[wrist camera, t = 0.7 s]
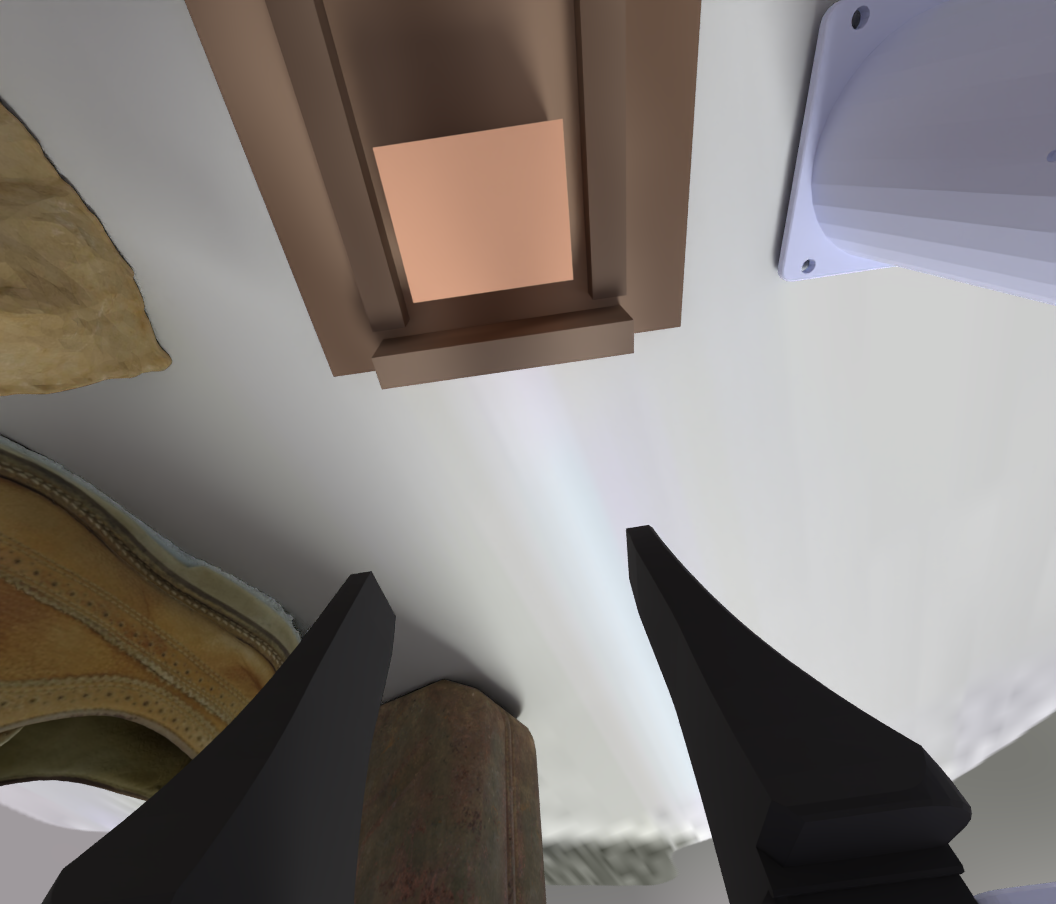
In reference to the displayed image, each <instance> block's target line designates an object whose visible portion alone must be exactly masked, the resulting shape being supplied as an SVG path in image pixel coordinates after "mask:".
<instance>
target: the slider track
mask: <svg viewBox="0 0 1056 904" xmlns="http://www.w3.org/2000/svg"><path fill="white" fill-rule="evenodd" d="M185 3H186V5H187V8H188V10H189V13H190V16H191V18H192V21H193V23H194V26H195V28H196V31H197V33H198V36H199V38H200V41H201V43H202V46H203V48H204V51H205V53H206V56H207V58H208V61H209V63H210V66H211V68H212V71H213V74H214V76H215V79H216V81H217V84H218V86H219V89H220V91H221V94H222V96H223V99H224V101H225V104H226V106H227V109H228V111H229V114H230V116H231V119H232V121H233V124H234V127H235V129H236V132H237V134H238V137H239V139H240V142H241V144H242V147H243V149H244V152H245V154H246V157H247V159H248V162H249V164H250V167H251V169H252V172H253V174H254V177H255V180H256V182H257V185H258V187H259V190H260V192H261V195H262V197H263V200H264V202H265V205H266V207H267V210H268V212H269V215H270V217H271V220H272V222H273V225H274V227H275V230H276V232H277V235H278V238H279V240H280V243H281V245H282V248H283V250H284V253H285V255H286V258H287V260H288V263H289V265H290V268H291V270H292V273H293V275H294V278H295V280H296V283H297V285H298V288H299V291H300V293H301V296H302V298H303V301H304V303H305V306H306V308H307V311H308V313H309V316H310V318H311V321H312V323H313V326H314V328H315V331H316V333H317V336H318V338H319V341H320V343H321V346H322V349H323V351H324V354H325V356H326V359H327V361H328V364H329V366H330V369H331V371H332V374H333V376H334V377H336V376H343V375H349V374H356V373H363V372H370V371H376V373H377V376H378V379H379V382H380V385H381V388H382V389H388V388H395V387H402V386H409V385H416V384H423V383H430V382H436V381H443V380H450V379H457V378H464V377H471V376H478V375H485V374H492V373H499V372H506V371H513V370H520V369H527V368H534V367H541V366H548V365H555V364H561V363H568V362H575V361H582V360H589V359H596V358H603V357H610V356H617V355H624V354H631V353H634V333H640V332H647V331H653V330H660V329H667V328H674V327H680V326H681V310H682V294H683V279H684V263H685V248H686V232H687V216H688V201H689V185H690V169H691V154H692V138H693V123H694V107H695V91H696V76H697V60H698V44H699V29H700V13H701V0H185ZM558 119H563V131H564V146H565V161H566V176H567V191H568V206H569V221H570V236H571V251H572V266H573V280H567V281H560V282H553V283H547V284H540V285H533V286H526V287H519V288H512V289H506V290H499V291H492V292H485V293H478V294H472V295H465V296H458V297H451V298H444V299H438V300H431V301H424V302H417V303H413V299H412V295H411V292H410V288H409V284H408V280H407V276H406V273H405V269H404V265H403V261H402V257H401V254H400V250H399V246H398V242H397V238H396V235H395V231H394V227H393V223H392V219H391V216H390V212H389V208H388V204H387V200H386V197H385V193H384V189H383V185H382V182H381V178H380V174H379V170H378V166H377V163H376V159H375V155H374V151H373V148H374V147H381V146H387V145H394V144H400V143H407V142H413V141H420V140H426V139H433V138H440V137H446V136H453V135H459V134H466V133H472V132H479V131H485V130H492V129H499V128H505V127H512V126H518V125H525V124H531V123H538V122H544V121H551V120H558Z"/></svg>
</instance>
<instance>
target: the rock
mask: <svg viewBox="0 0 1056 904" xmlns="http://www.w3.org/2000/svg"><path fill="white" fill-rule="evenodd" d="M133 277H134V272H133V270H132V269H131V268H130V266H129V265H128V264H127V263H126V262H125V261H124V259H123V258H122V257H121V256H120V254H119V253H118V251H117V250H116V248H115V247H114V245H113V243H112V242H111V240H110V239H109V237H108V236H107V234H106V233H105V231H104V228H103V227H102V225H101V223H100V222H99V220H98V219H97V218H96V216H95V215H94V214H92V213H91V212H90V211H89V210H88V209H87V207H86V206H85V204H84V203H83V202H82V200H81V199H80V197H79V195H78V194H77V193H76V192H75V191H74V189H73V188H72V187H71V186H70V185H69V184H68V183H66V182H65V181H64V180H63V179H61V177H60V176H59V174H58V173H57V172H56V170H55V169H54V167H53V166H52V165H51V163H50V162H49V161H48V160H47V159H46V157H45V156H44V154H43V152H42V149H41V147H40V145H39V143H38V142H37V141H36V140H35V139H34V138H33V137H32V135H31V134H30V133H29V132H28V131H27V129H26V128H25V127H24V126H23V124H22V123H21V122H20V121H19V120H18V119H17V118H16V117H15V116H14V115H13V114H12V113H10V112H9V111H8V110H7V109H6V108H5V107H4V106H3V105H2V104H1V102H0V396H8V395H14V394H50V393H56V392H62V391H66V390H70V389H75V388H79V387H83V386H87V385H91V384H94V383H97V382H100V381H103V380H107V379H114V378H132V377H136V376H138V375H140V374H141V373H146V372H152V371H163V370H165V369H167V368H168V367H169V366H170V364H171V363H172V360H171V358H170V356H169V355H168V354H167V353H166V352H165V351H163V350H162V349H161V347H160V346H159V345H158V343H157V341H156V338H155V335H154V332H153V329H152V327H151V324H150V321H149V319H148V317H147V316H146V314H145V311H144V307H145V306H144V302H143V298H142V296H141V294H140V292H139V289H138V287H137V285H136V283H135V281H134V279H133Z"/></svg>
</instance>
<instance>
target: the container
mask: <svg viewBox="0 0 1056 904" xmlns="http://www.w3.org/2000/svg"><path fill="white" fill-rule="evenodd" d="M354 904H546V893H545V877H544V862H543V847H542V833H541V818H540V803H539V788H538V773H537V758H536V749H535V744H534V740H533V737H532V735H531V733H530V731H529V730H528V728H527V727H526V726H525V725H523V724H522V723H521V722H519V721H518V720H517V719H516V718H514V717H513V716H512V715H511V714H509V713H508V712H507V711H505V710H504V709H503V708H502V707H500V706H499V705H498V704H496V703H495V702H493V701H492V700H491V699H490V698H489V697H487V696H486V695H485V694H483V693H482V692H481V691H479V690H478V689H477V688H473V687H470V686H466V685H463V684H459V683H455V682H452V681H448V680H445V679H442V680H440V681H438V682H435V683H433V684H431V685H428V686H426V687H423V688H421V689H419V690H416V691H414V692H412V693H409V694H407V695H404V696H402V697H400V698H397V699H395V700H393V701H390V702H388V703H386V704H383V705H381V706H380V709H379V713H378V718H377V722H376V726H375V731H374V735H373V740H372V745H371V750H370V756H369V763H368V770H367V778H366V785H365V793H364V801H363V810H362V819H361V828H360V837H359V847H358V859H357V871H356V882H355V895H354Z"/></svg>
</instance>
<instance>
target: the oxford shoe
mask: <svg viewBox="0 0 1056 904" xmlns="http://www.w3.org/2000/svg"><path fill="white" fill-rule="evenodd" d="M293 619H294V618H293V617H292V616H291V615H289V614H286V612H284V610H283V608H282V606H281V604H279V603H277V602H276V600H275V599H273V598H271V597H269V596H267V595H266V594H265V593H263V592H260V590H258V589H257V588H256V587H255V588H253V587H252V586H249V585H248V584H246V583H245V582H243V581H241V580H239V579H238V578H236V577H234V576H233V575H232V574H228V573H226V572H223V571H222V570H221V569H220V568H217V567H215V566H213V565H210V564H208V563H206V562H205V561H203V560H199V559H196V558H195V557H193V556H191V555H189V554H187V553H185V552H184V551H182V550H180V548H179V547H177V546H175V545H174V544H173V543H172V542H171V541H170V540H168V539H165V538H164V537H162V536H161V535H160V534H159V533H157V532H156V531H153V530H152V529H151V528H150V527H148V526H147V525H146V524H145V523H143V522H142V521H140V520H139V519H138V518H135V517H134V516H133V515H132V514H130V513H129V512H127V511H126V510H125V509H124V508H122V507H121V506H120V505H119V504H118V503H116V502H115V501H113V500H112V499H110V498H109V497H108V496H107V495H105V494H104V493H103V492H101V491H99V490H98V489H96V488H95V487H94V486H93V485H92V484H90V483H88V482H86V481H84V480H83V479H82V478H81V477H79V476H77V475H75V474H73V473H71V472H69V471H68V470H66V469H65V468H64V467H63V466H62V465H61V464H58V463H57V462H54V461H53V460H50V459H48V458H47V457H44V456H42V455H40V454H37V453H35V452H33V451H29V450H28V449H25V448H24V447H23V446H21V445H19V444H18V443H15V442H13V441H11V440H9V439H7V438H5V437H2V436H0V786H3V785H9V784H15V783H22V782H30V781H38V780H43V781H44V780H59V781H69V782H75V783H81V784H86V785H90V786H94V787H98V788H102V789H106V790H109V791H113V792H115V793H119V794H123V795H126V796H130V797H134V798H137V799H141V800H145V801H147V800H148V799H150V798H151V797H152V796H153V795H154V794H155V793H156V792H158V791H159V790H160V789H161V788H162V787H163V786H164V785H166V784H167V783H168V782H169V781H170V780H171V779H172V778H173V777H174V776H176V775H177V774H178V773H179V772H180V771H181V770H182V769H183V768H184V767H185V766H187V765H188V764H189V763H190V762H191V761H192V760H193V759H194V758H195V757H196V756H197V755H198V754H199V753H200V752H201V751H202V750H203V749H204V748H205V747H206V746H207V745H208V744H209V743H210V742H211V741H212V740H213V739H214V738H215V737H216V736H217V735H218V734H220V733H221V732H222V731H223V730H224V729H225V728H226V727H227V726H228V725H229V724H230V723H231V722H232V720H233V719H234V718H235V717H236V716H237V715H238V714H239V713H240V712H241V711H242V710H243V709H244V708H245V707H246V706H247V704H248V703H249V702H250V701H251V700H252V699H253V698H254V697H255V696H256V695H257V693H258V692H259V691H260V690H261V689H262V688H263V687H264V686H265V684H266V683H267V682H268V681H269V680H270V679H271V677H272V676H273V675H274V674H275V672H276V671H277V670H278V669H279V668H280V666H281V665H282V664H283V663H284V661H285V660H286V659H287V658H288V657H289V655H290V654H291V653H292V652H293V650H294V649H295V648H296V647H297V646H298V644H299V643H300V642H301V637H300V634H299V631H297V630H296V629H295V628H294V627H293V623H292V620H293Z"/></svg>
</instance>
